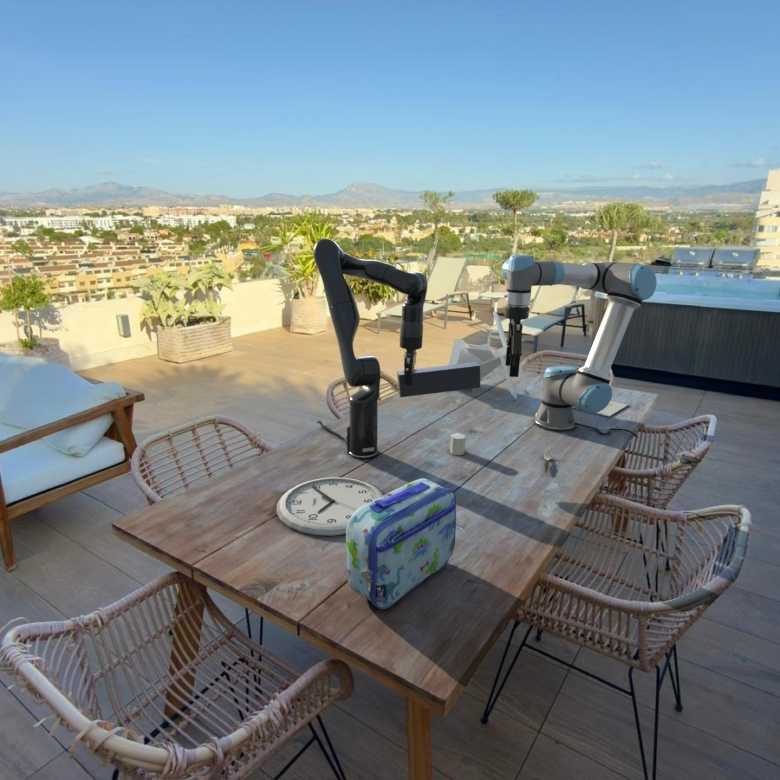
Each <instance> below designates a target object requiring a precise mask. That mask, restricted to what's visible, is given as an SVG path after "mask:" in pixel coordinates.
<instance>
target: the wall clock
mask: <svg viewBox="0 0 780 780" xmlns="http://www.w3.org/2000/svg"><path fill="white" fill-rule="evenodd" d="M384 495H385V494H384V493H383V492H382V491H381V490H380V489H379V488H377V487H376V486H374V485H372V484H371V483H369V482H365V481H362V480H359V479H355V478H349V477H338V476H337V477H335V476H333V477H332V476H331V477H322V478H317V479H312V480H307V481H305V482H302V483H299V484H297V485H295V486H293V487H292V488H290V489H288V490H287V491H286V492H285V493H284V494H283V495H281V496H280V498H279V499H278V502H277V503H276V515H277V517H278V518H279V520H280V521H281V522H282V523H283V524H285V525H286V526H287V527H288V528H290V529H293V530H295V531H297V532H299V533H303V534H308V535H312V536H327V537H328V536H329V537H331V536H332V537H333V536H342V535H346V528H347V524H348V521H349V519H350V517H351V515H352V514H353V513H354V512H355V511H356V510H357V509H358V508H360V507H362V506H364V505H366V504H368V503H370V502H372V501H374V500H376V499H378V498H380V497H382V496H384Z"/></svg>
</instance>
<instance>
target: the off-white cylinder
mask: <svg viewBox="0 0 780 780" xmlns="http://www.w3.org/2000/svg"><path fill="white" fill-rule="evenodd" d="M466 437H467V436H466V434H463V433H459V432H455V433H452V434H450V442H449V443H450V444H449V445H450V446H449V453H450V454H451V455H453V456H463V455H464V454H465V453H466V439H467V438H466Z"/></svg>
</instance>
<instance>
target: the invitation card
mask: <svg viewBox="0 0 780 780" xmlns="http://www.w3.org/2000/svg"><path fill="white" fill-rule="evenodd" d="M628 406H629V404H627V403H623V402H618V401H614V400H610V402H609V404H608V405H607V406H606V407H605V408H604V409H603V410H601V411H600V412H597V413H595V414H596V415H600V416H604V417H608V418H609V417H611V416H613V415H614V414H616V413H617V412H619V411H621V410H623V409H624V408H626V407H628ZM573 409H575V410H579V409H578V408H576V407H573Z"/></svg>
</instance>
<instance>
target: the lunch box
mask: <svg viewBox="0 0 780 780" xmlns="http://www.w3.org/2000/svg"><path fill="white" fill-rule="evenodd" d="M456 498H457V496H456V493H455V491H454V489H452V488H450V487H443V486H441V485H439V484H438V483H436V482H433V481H432V480H430V479H427V478H423V477H422V478H418V479H416V480H413V481H411V482H409V483H406V484H405V485H402V486H400V487H398V488H396V489H394V490H392V491H390V492H388V493H386V494H384V496H382V497H380V498H378V499H376V500H374V501H372V502H370V503H368V504H366V505H364V506H362V507H360V508H358V509H357V510H356V511H355V512H354V513H353V514H352V515H351V517H350V519H349V521H348V524H347V528H346V534H345V547H346V549H345V550H346V572H347V573H346V575H347V584H348V587H349V589H350V590H351V591H353V592H355V593H357V594H358V595H361V596H363V597H364V598H365V599H367V600H368V601H369V602H371V604H372V605H373V606H374V607H376V608H377V609H380V610H386V609H389V608H391V607H393V605H395V603H397V602H398V601H399V600H400V599H402V598H403V597H404V596H405V595H408V593H410V592H411V591H412V590H413V589H415V588H416V587H417V586H419V585H420V584H421V583H423V581H424V580H425V579H427V578H428V577H430V576H431V575H433V574H435V573H437V572H438V571H439V570H441V569H442V568H443V567H444V566H446V564H447V563H448V562H449V560H450V559H451V556H452V555H453V552H454V548H455V544H456V531H457V530H456V529H457V499H456Z"/></svg>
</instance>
